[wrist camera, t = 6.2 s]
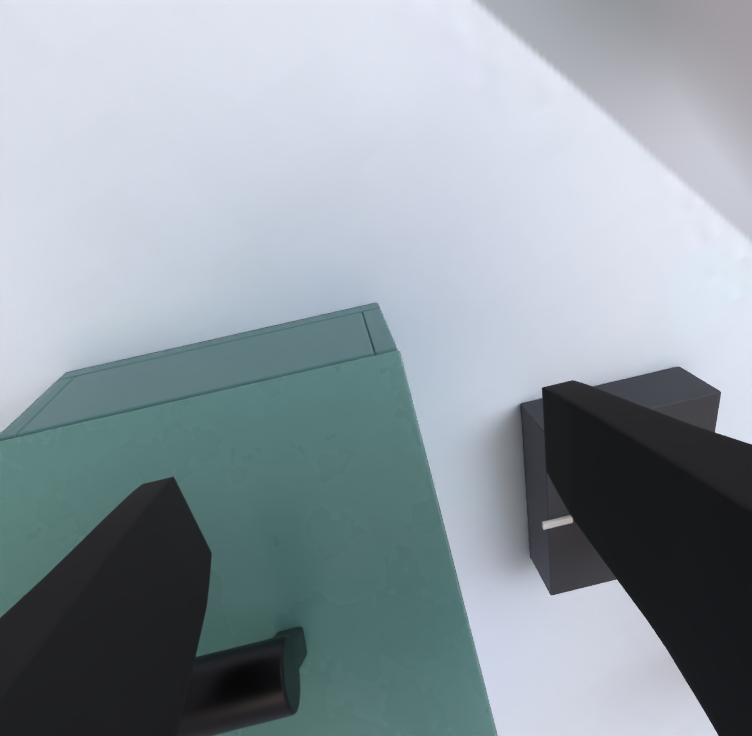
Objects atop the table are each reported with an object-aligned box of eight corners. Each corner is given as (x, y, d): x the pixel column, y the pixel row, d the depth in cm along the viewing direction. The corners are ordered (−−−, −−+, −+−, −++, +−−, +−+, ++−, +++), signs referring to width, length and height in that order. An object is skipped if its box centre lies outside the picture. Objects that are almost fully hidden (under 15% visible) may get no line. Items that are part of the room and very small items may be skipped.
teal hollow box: (419, 515, 24) (443, 596, 19) (175, 574, 23) (145, 669, 19) (377, 302, 19) (397, 348, 14) (65, 372, 18) (-9, 440, 14)
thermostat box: (667, 523, 26) (703, 561, 24) (524, 558, 26) (546, 600, 24) (685, 364, 22) (731, 391, 19) (513, 404, 22) (539, 437, 19)
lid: (517, 819, 11) (575, 969, 8) (-3, 955, 11) (-195, 1179, 7) (398, 355, 14) (401, 308, 11) (-8, 448, 14) (-144, 431, 10)
